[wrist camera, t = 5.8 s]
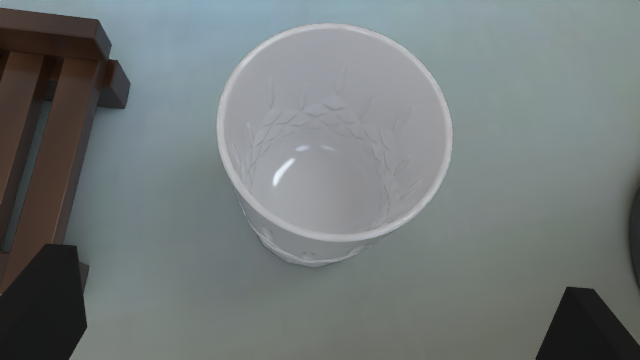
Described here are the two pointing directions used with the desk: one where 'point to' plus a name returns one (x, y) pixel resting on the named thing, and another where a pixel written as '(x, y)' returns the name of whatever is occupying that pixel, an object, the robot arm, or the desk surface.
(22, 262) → the slatted wooden rack
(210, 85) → the desk surface
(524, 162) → the desk surface
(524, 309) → the desk surface
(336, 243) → the white cup
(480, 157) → the desk surface
